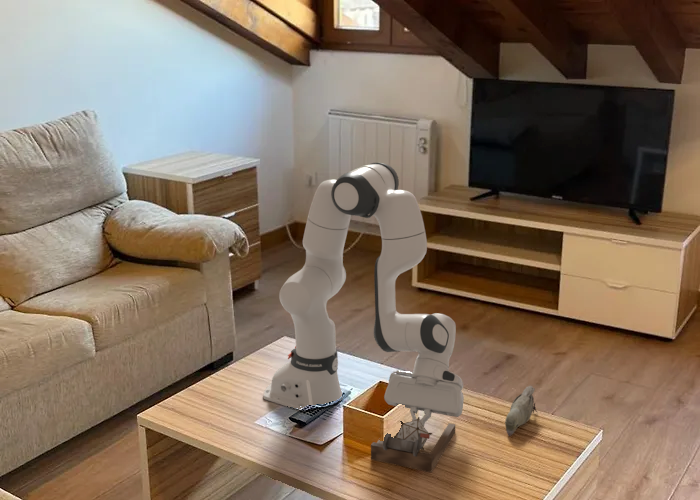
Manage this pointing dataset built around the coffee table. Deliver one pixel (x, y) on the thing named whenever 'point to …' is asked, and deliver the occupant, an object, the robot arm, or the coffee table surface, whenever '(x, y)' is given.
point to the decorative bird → (520, 410)
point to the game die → (412, 431)
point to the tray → (411, 450)
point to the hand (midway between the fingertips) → (417, 426)
